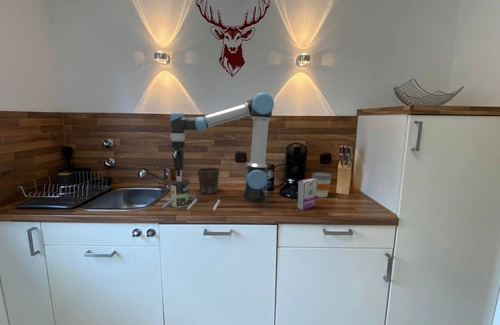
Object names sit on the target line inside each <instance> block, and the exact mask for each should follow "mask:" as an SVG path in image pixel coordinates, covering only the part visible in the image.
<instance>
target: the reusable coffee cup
mask: <svg viewBox="0 0 500 325" xmlns="http://www.w3.org/2000/svg"><path fill="white" fill-rule="evenodd" d="M311 177H312V179H316V180H317V192H316V197H317V196H318V198H327V197H328V195H329V190H330V189H331V183H332V182H331V180H332V173H329V172H323V171H322V172H321V171H315V172H313V173H312V176H311Z"/></svg>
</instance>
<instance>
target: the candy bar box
mask: <svg viewBox="0 0 500 325" xmlns="http://www.w3.org/2000/svg"><path fill="white" fill-rule="evenodd" d="M316 192H317V180H316V179H313V178H307V179H301V180H299V181H298V180H297V209H299V210H302V211H306V210H309V209H312V208H315V207H316V206H317V196H316Z"/></svg>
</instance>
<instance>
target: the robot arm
mask: <svg viewBox="0 0 500 325" xmlns="http://www.w3.org/2000/svg"><path fill="white" fill-rule="evenodd" d="M274 106H275V101H274V99H273V97H272V95H271V94H269V93H267V92H259V93H257V94H255V95H254V97H253V98H252V99H249V100H246V101H245V102H244V103H243V104H240V105H236V106H233V107H229V108H226V109H222V110H219V111H216V112H212V113H209V114H205V115H202V116H185V113H183V112H172V113H170V116H169V117H170V118H169V119H170V120H169V122H170V123H169V124H170V134H169V137H170V140H171V142H170V147H171V148H172V149H173V150H174V151H173V154H172V155H171V156H172V161H173V167H174V168H173V169H174V171H175V173H176V177H175V178H176V180H177V182H182V180H183V171H184V158H185V151H183V149H184V148H186V133H185V131H198V132H200V131H206V130H207V129H208V128H211V127H214V126H218V125H222V124H225V123H228V122H231V121H235V120H238V119H242V118H246V117H249V118H251V119H252V120H253V121H252V122H253V124H252V135H251V136H252V137H251V147H250V148H251V149H250V150H251V151H250V161H249V162H247V163H246V164H245V187H244V190H243V194H242V199H244V200H246V201H250V202H258V201H264V200H266V198H267V194H266V190H265V186H266V185H267V182H268V175H267V173H268V165H267V164H266V156H267V144H268V143H267V142H268V132H269V122H270V120H272V117H273V116H272V115H273V109H274Z"/></svg>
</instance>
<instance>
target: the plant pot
mask: <svg viewBox="0 0 500 325" xmlns="http://www.w3.org/2000/svg"><path fill="white" fill-rule="evenodd" d="M196 171H197V172H196V173H197V176H198V177H197V178H198V184H199V192H200V193H201V194H207V195H208V194H209V195H210V194H215V193H217V192H218V189H219V187H218V186H219V176H220V171H221V169H220V168H219V167H199V168H197V169H196Z"/></svg>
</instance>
